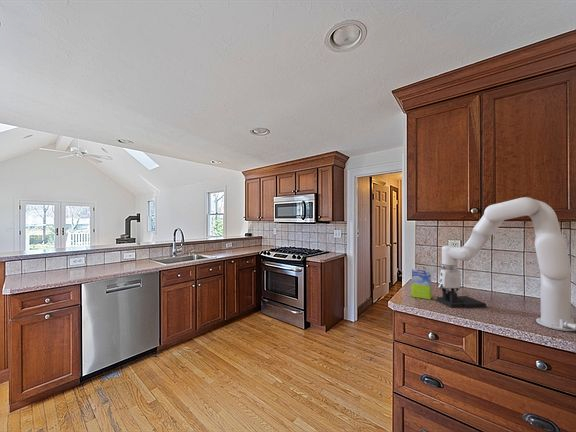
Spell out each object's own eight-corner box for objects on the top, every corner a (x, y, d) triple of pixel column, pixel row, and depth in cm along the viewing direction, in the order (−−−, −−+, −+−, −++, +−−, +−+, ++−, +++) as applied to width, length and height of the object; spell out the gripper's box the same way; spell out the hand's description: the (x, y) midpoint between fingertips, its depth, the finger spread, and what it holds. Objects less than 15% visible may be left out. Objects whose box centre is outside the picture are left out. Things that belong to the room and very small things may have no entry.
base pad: (486, 307, 140) (486, 303, 140) (465, 307, 140) (465, 304, 140) (466, 299, 154) (466, 295, 154) (447, 299, 154) (447, 296, 154)
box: (431, 298, 157) (431, 269, 157) (430, 300, 153) (430, 271, 153) (412, 295, 163) (412, 268, 163) (411, 296, 159) (411, 269, 159)
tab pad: (467, 307, 141) (467, 294, 141) (451, 307, 140) (451, 294, 140) (452, 300, 153) (452, 288, 153) (436, 300, 152) (436, 288, 152)
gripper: (440, 269, 142) (440, 302, 142) (468, 268, 143) (468, 301, 143) (431, 266, 150) (431, 298, 150) (458, 266, 151) (458, 297, 151)
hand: (449, 299), depth 146 cm, fingers closed on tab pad, 3 cm apart
